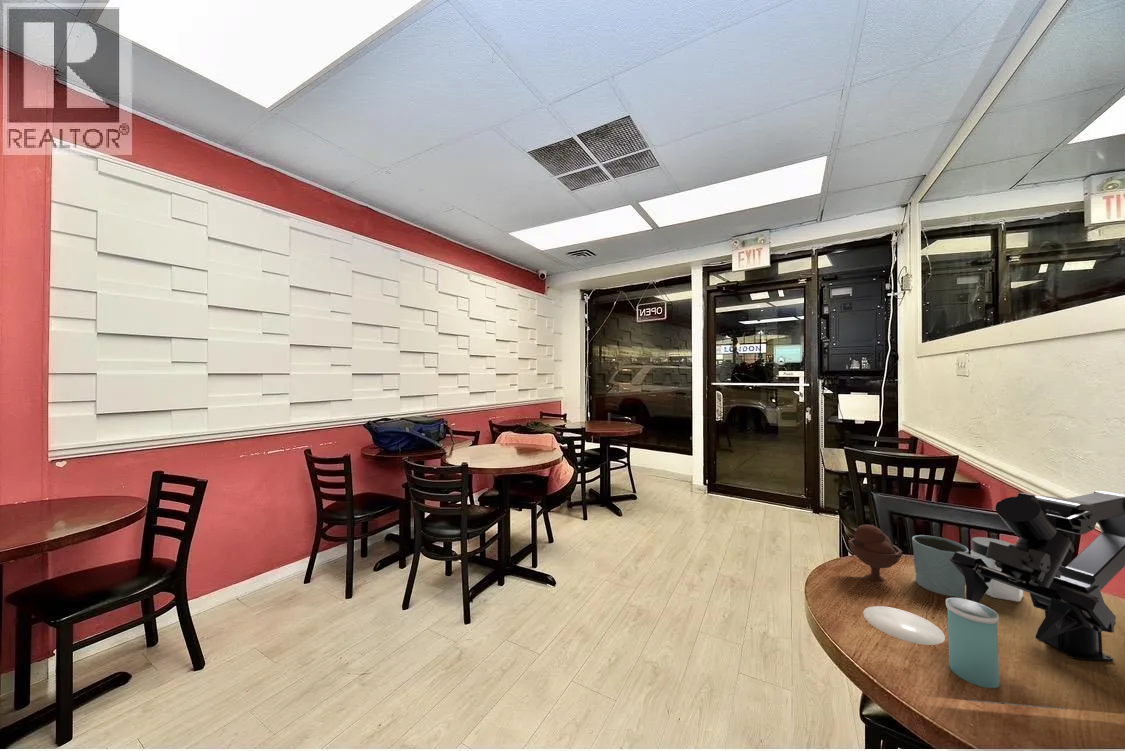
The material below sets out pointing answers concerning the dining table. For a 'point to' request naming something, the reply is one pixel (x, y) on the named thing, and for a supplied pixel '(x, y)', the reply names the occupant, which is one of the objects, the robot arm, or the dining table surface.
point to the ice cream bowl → (874, 550)
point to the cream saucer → (904, 625)
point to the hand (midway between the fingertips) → (1001, 623)
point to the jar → (995, 587)
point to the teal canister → (973, 642)
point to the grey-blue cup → (938, 565)
